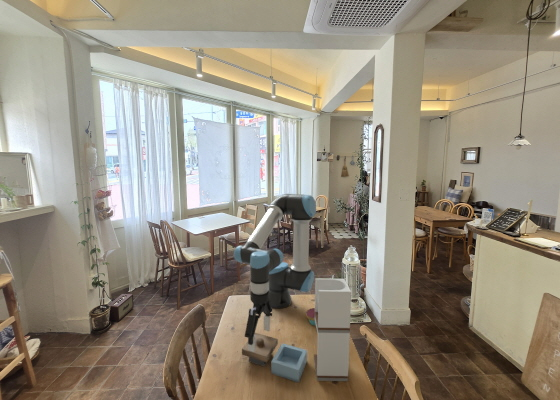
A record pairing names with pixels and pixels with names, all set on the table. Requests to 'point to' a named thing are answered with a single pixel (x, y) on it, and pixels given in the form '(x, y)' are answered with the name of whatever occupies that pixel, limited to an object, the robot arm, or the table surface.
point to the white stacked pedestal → (332, 329)
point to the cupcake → (311, 316)
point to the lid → (261, 347)
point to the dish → (289, 362)
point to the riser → (257, 361)
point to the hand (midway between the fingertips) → (259, 339)
